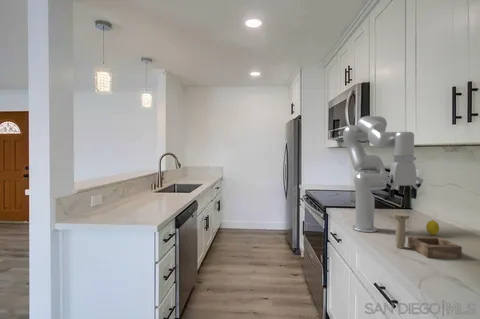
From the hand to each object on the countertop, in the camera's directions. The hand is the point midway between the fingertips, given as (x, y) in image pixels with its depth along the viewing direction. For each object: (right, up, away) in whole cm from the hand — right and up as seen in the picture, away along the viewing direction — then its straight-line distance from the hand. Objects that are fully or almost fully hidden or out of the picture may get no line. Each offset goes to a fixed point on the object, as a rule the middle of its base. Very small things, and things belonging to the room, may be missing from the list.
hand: (402, 198), depth 132 cm
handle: (0, -23, +2) cm, 23 cm away
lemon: (+27, -22, +21) cm, 41 cm away
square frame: (+11, -23, -3) cm, 26 cm away
